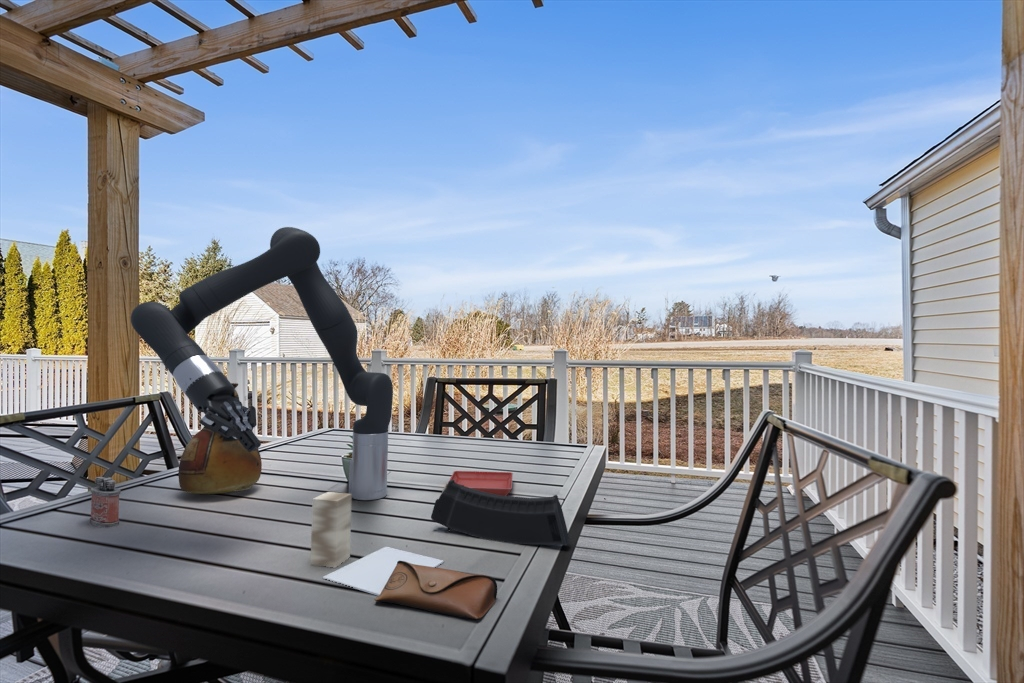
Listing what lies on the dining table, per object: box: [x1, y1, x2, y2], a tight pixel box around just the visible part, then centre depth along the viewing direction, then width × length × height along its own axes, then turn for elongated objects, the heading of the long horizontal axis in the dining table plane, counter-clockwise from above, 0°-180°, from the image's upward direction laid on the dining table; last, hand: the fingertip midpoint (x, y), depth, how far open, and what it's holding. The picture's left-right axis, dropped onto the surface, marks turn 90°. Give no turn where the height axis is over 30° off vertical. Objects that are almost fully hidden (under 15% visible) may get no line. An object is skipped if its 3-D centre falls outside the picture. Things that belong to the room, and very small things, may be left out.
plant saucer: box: [446, 470, 514, 496], centre depth 148 cm, size 18×18×3 cm
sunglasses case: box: [374, 561, 498, 620], centre depth 81 cm, size 18×7×7 cm
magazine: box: [430, 479, 571, 546], centre depth 109 cm, size 17×3×30 cm
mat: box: [322, 546, 445, 597], centre depth 92 cm, size 14×16×1 cm
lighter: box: [89, 476, 121, 529], centre depth 113 cm, size 8×3×10 cm, turn 65°
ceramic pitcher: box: [177, 382, 263, 495], centre depth 139 cm, size 20×20×30 cm
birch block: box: [310, 491, 352, 569], centre depth 95 cm, size 5×5×12 cm
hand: (255, 448), depth 99 cm, fingers closed
